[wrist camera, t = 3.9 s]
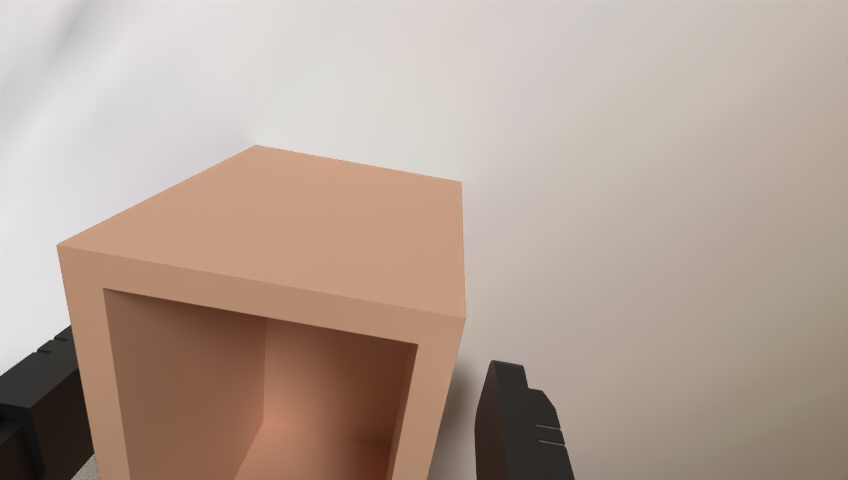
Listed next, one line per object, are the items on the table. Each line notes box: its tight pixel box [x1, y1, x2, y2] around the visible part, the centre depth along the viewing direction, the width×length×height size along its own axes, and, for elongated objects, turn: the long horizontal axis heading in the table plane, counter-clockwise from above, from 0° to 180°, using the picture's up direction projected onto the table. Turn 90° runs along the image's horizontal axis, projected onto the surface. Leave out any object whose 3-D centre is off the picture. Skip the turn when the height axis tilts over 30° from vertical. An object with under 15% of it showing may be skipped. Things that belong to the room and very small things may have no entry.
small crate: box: [57, 145, 466, 480], centre depth 10 cm, size 9×5×6 cm, turn 170°
